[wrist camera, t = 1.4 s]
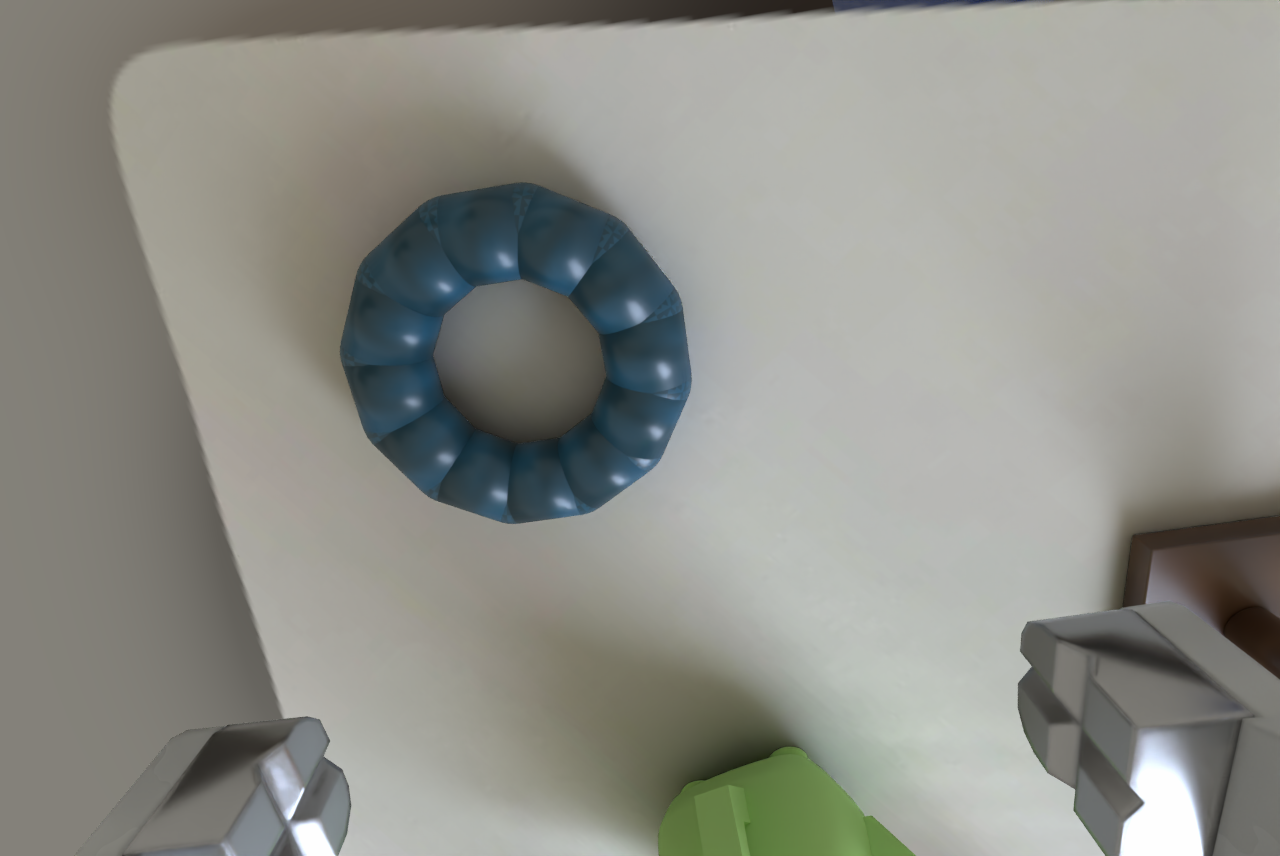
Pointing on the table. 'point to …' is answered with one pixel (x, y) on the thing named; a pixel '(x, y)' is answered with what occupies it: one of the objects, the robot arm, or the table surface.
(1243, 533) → the stand
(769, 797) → the teapot
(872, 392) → the table surface
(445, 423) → the ring
